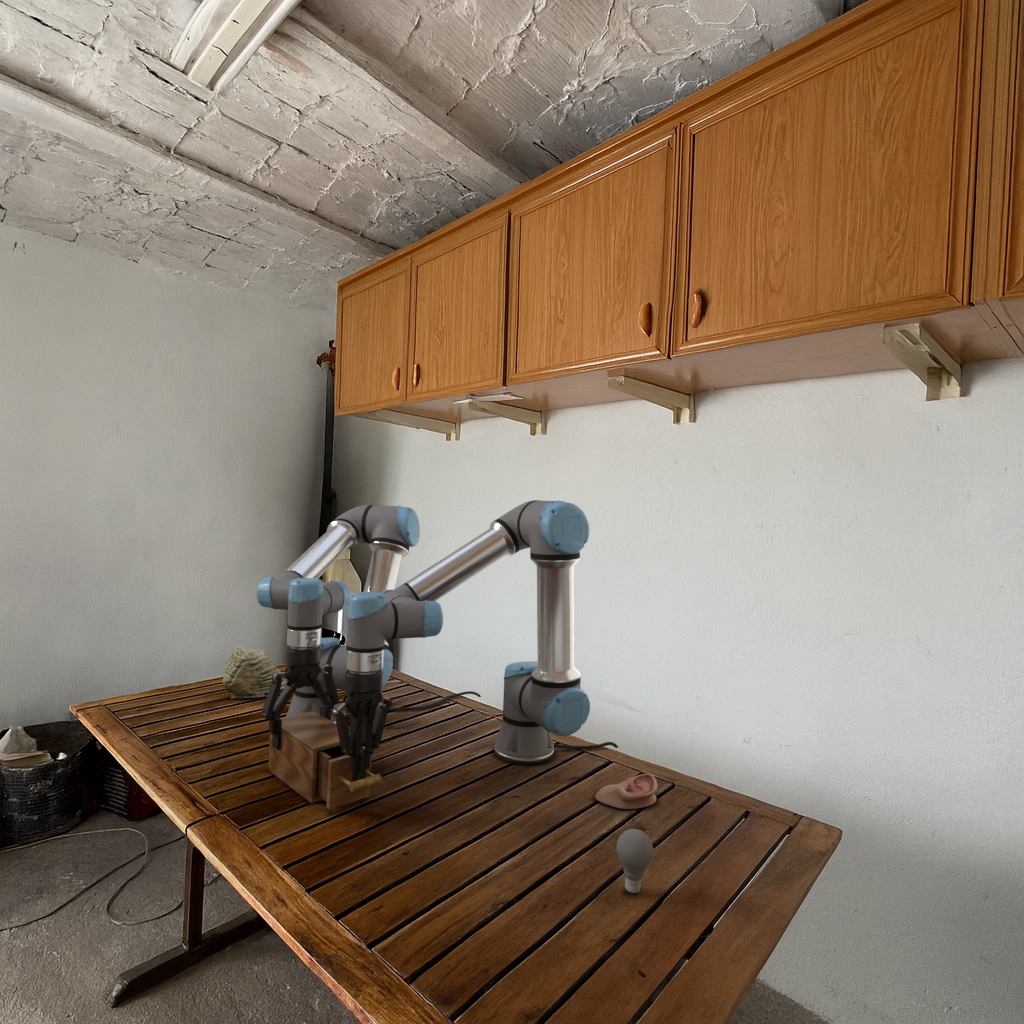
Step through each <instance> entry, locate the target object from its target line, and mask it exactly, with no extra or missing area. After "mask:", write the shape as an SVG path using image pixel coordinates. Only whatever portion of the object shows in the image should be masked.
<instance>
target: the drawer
mask: <svg viewBox="0 0 1024 1024" xmlns="http://www.w3.org/2000/svg"><path fill="white" fill-rule="evenodd" d="M361 752H362V750H361ZM372 755H373V754H372ZM372 755H370V766H369V768H368V769H367V770H366V778H364V779H360V780H357V781H354V782H352V778H353V772H352V771H351V770H350V756H348V755H346V754H345V753H343V752H342V751H341V746H340V745H339V746H335V747H332V748H328V749H324V750H321V751H317V770H316V794H317V795H318V796H319V797H321V798H322V799H323V800H322V801H324V802H326V809H328V810H333V809H336V808H338V807H341V806H344V805H346V804H347V805H348V804H349V803H353V802H355V801H359V800H361V799H364V798H367V797H370V796H371V787H372V786H374V785H377V784H380V783H381V782H382V775H381V774H380V773H377V774H374V773H372Z"/></svg>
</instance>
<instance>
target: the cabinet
mask: <svg viewBox="0 0 1024 1024" xmlns="http://www.w3.org/2000/svg"><path fill="white" fill-rule="evenodd" d="M279 718H280V719H281V720H282V728H281V749H278V750H277V749H276V748H274V747H273V746H272V736H273V735H272V734H271V733H270V732H269V744H268V745H269V746H268V771H269V773H271V774H273V775H274V776H275V777H276V778H278V779H279V780H280V781H281V782H282V783H284V784H285V785H286V786H288V787H289V788H290V789H292V790H293V791H295V792H296V793H297V794H299V796H301V797H302V798H303V799H305V801H307V802H308V803H310V804H315V803H317V802H320V801H324V800H323V799H322V798H321V797H319V796H318V795H317V794H316V770H317V751H321V750H324V749H328V748H332V747H335V746H339V745H340V741H339V736H338V730H337V725H336V724H335V723H334V722H332V721H330V720H328V719H326V718H325V717H323V716H321V715H319V714H317V713H316V712H314V711H311V712H307V713H302V714H298V715H293V716H289V717H286V716H285V717H279ZM349 734H350V730H349Z"/></svg>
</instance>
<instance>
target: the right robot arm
mask: <svg viewBox="0 0 1024 1024" xmlns="http://www.w3.org/2000/svg"><path fill="white" fill-rule="evenodd" d="M589 538H590V523H589V520H588V518H587V515H586V514H585V512H584V511H583V510H582V509H581V508H580V507H579V506H578V505H576V504H574V503H572V502H567V501H564V500H541V499H540V500H539V499H538V500H537V499H536V500H535V499H534V500H528V501H525V502H523V503H522V504H518V505H517V506H515V507H514V508H512V509H510V510H508V511H507V512H506V513H504V514H503V515H501V516H499V517H497V518H496V519H495V520H493V521H492V522H490V524H489V529H487V530H485V531H484V532H482V533H480V534H479V535H477V536H476V537H474V538H473V539H471V540H470V541H468V542H466V543H465V544H463V545H461V547H459V548H457V549H456V550H454V551H453V552H451V553H449V554H447V555H446V556H445V557H443V558H441V559H440V560H439V561H437V562H435V563H434V564H432V565H431V566H429V567H427V568H426V569H424V570H423V571H421V572H420V573H418V574H416V575H415V576H414V577H412V578H410V579H409V580H407V581H406V582H404V583H402V584H401V585H399V586H398V587H397V586H396V588H395V589H394V590H385V591H382V592H380V593H379V592H364V591H359V592H354V593H353V594H351V596H350V598H349V604H348V605H347V614H346V618H347V619H346V620H347V621H346V641H347V646H346V660H345V668H346V669H347V671H346V672H345V683H344V689H345V690H344V696H343V698H342V699H341V700H342V701H341V703H340V706H339V707H338V708H337V709H336V708H333V709H332V710H331V713H332V715H333V716H334V718H335V719H336V725H337V730H338V736H339V741H340V746H341V751H342V752H343V753H345V754H346V755H348V756H350V770H351V771H352V772H353V778H352V782H354V781H357V780H360V779H364V778H366V770H367V769H368V768H369V766H370V755H374V753H375V752H374V750H375V749H378V748H380V745H381V741H382V737H383V733H384V729H385V725H386V721H387V716H388V712H389V711H388V710H389V709H390V708H392V705H393V700H392V699H389V698H388V697H386V696H384V694H383V691H382V689H383V688H382V686H383V671H382V670H381V669H382V668H383V661H384V647H385V645H384V643H385V640H386V641H387V640H399V639H401V640H402V639H418V638H423V639H425V638H429V637H437V636H438V635H439V634H440V633H441V632H442V630H443V625H444V612H443V609H442V608H443V607H442V606H441V604H440V603H439V602H438V601H439V600H440V599H441V598H443V597H444V596H446V595H448V594H449V593H451V592H452V591H454V590H455V589H457V588H458V587H459V586H461V585H462V584H464V583H465V582H467V581H468V580H470V579H471V578H474V576H476V575H477V574H480V573H481V572H482V571H483V570H485V569H487V568H489V567H490V566H491V565H493V564H494V563H496V562H497V561H499V560H500V559H502V558H503V557H505V556H514V555H515V554H516V553H518V552H520V551H522V550H525V549H529V553H530V554H529V559H530V561H531V562H533V564H535V566H536V604H537V605H536V617H537V618H536V619H537V620H536V623H537V625H536V627H537V628H536V629H537V633H536V635H537V637H536V639H537V643H536V644H537V661H535V660H534V661H532V660H531V661H516V662H511V663H508V664H507V665H506V666H505V669H504V675H503V701H502V703H503V704H502V721H501V725H500V727H499V730H498V733H497V735H496V738H495V741H494V745H493V752H494V754H495V756H496V757H497V758H499V759H500V760H502V761H505V762H508V763H510V764H511V763H512V764H516V765H538V764H543V763H547V762H549V761H551V760H552V759H553V757H554V755H555V748H559V749H570V750H591V749H599V748H603V747H607V746H612V747H614V748H615V749H618V748H619V746H618V745H617V744H616V743H615V742H613V741H605V742H602V743H598V744H591V745H571V744H570V745H569V744H559V743H554V740H553V738H552V734H554V735H556V736H558V737H568V736H571V735H573V734H575V733H576V732H578V731H579V730H580V729H581V728H582V726H583V725H584V724H586V722H587V720H588V718H589V715H590V711H591V701H590V698H589V696H588V694H587V693H586V692H585V690H584V689H581V687H582V685H581V682H582V681H581V676H582V675H581V672H580V671H579V669H577V668H576V667H575V596H574V595H575V591H574V589H575V586H574V582H575V581H574V580H575V579H574V573H575V572H574V571H575V570H574V568H575V565H576V564H577V563H578V562H579V561H580V560H581V551H582V549H583V548H584V547H585V544H587V543H588V542H589V541H588V540H589ZM346 710H348V712H349V713H346ZM375 710H376V713H375ZM348 714H349V715H348ZM347 715H348V716H349V720H350V722H349V723H350V725H349V723H348V719H347ZM349 731H350V734H349ZM361 750H362V752H361Z"/></svg>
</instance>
